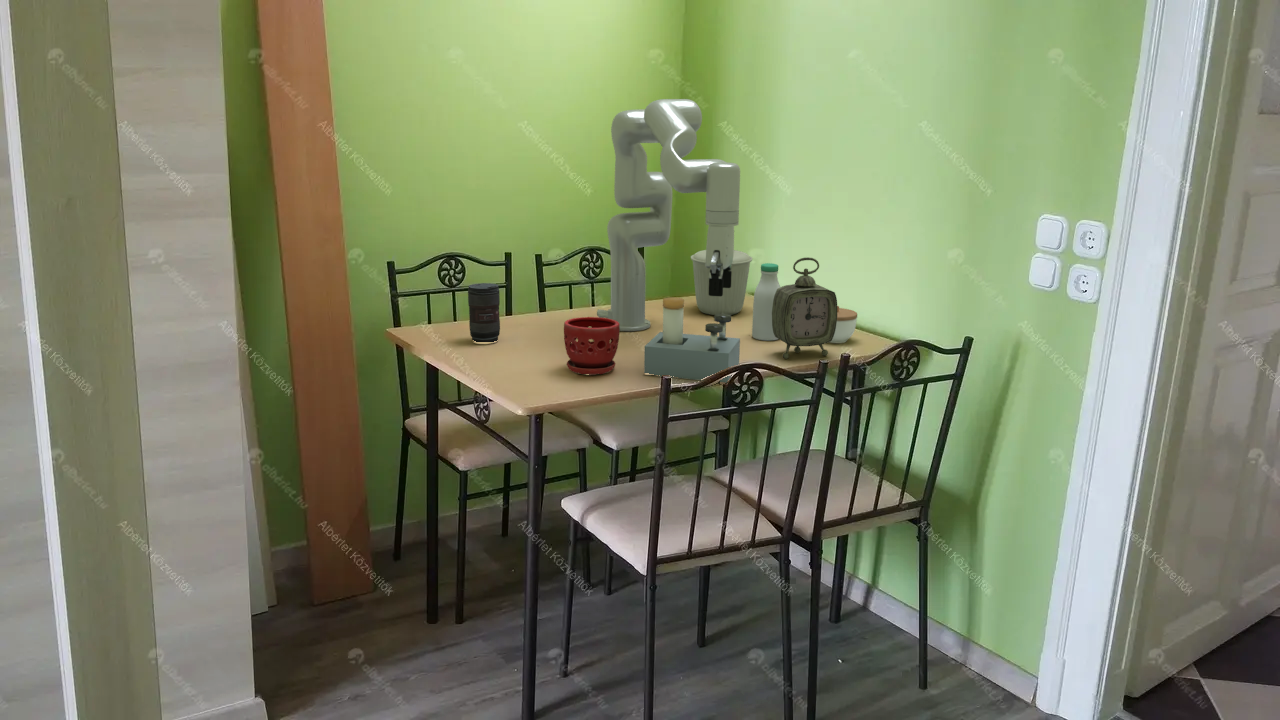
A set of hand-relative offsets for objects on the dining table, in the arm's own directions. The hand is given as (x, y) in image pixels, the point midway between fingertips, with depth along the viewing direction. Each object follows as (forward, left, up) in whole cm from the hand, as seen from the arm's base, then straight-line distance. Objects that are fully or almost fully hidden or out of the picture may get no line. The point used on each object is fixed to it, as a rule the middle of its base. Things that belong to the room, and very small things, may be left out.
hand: (720, 291), depth 232 cm
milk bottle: (+6, +36, -20) cm, 42 cm away
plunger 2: (0, +5, -14) cm, 15 cm away
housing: (-6, 0, -20) cm, 21 cm away
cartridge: (-11, 0, -17) cm, 20 cm away
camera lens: (-64, +9, -20) cm, 68 cm away
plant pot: (-29, -7, -20) cm, 36 cm away
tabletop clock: (+17, +22, -20) cm, 34 cm away
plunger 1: (0, -5, -14) cm, 15 cm away
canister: (-12, +61, -20) cm, 65 cm away
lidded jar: (+24, +39, -20) cm, 50 cm away
